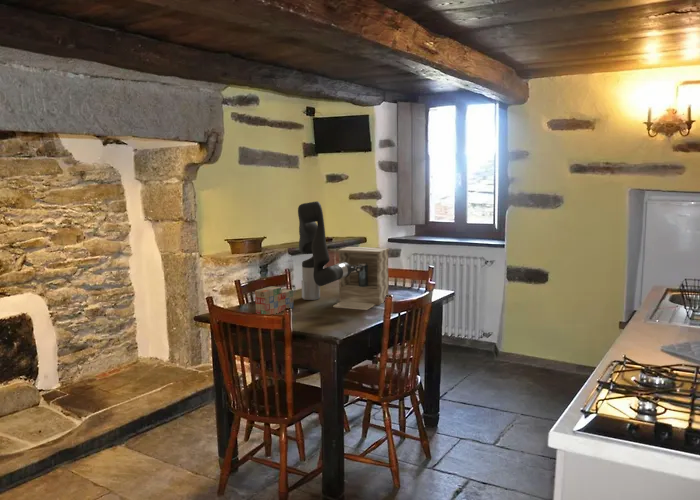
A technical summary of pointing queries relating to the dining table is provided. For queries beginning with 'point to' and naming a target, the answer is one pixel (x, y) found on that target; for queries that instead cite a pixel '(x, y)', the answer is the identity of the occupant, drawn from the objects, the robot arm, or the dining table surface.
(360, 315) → the dining table surface
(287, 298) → the stack of blocks
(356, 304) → the tile
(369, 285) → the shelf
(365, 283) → the tin
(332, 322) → the dining table surface
